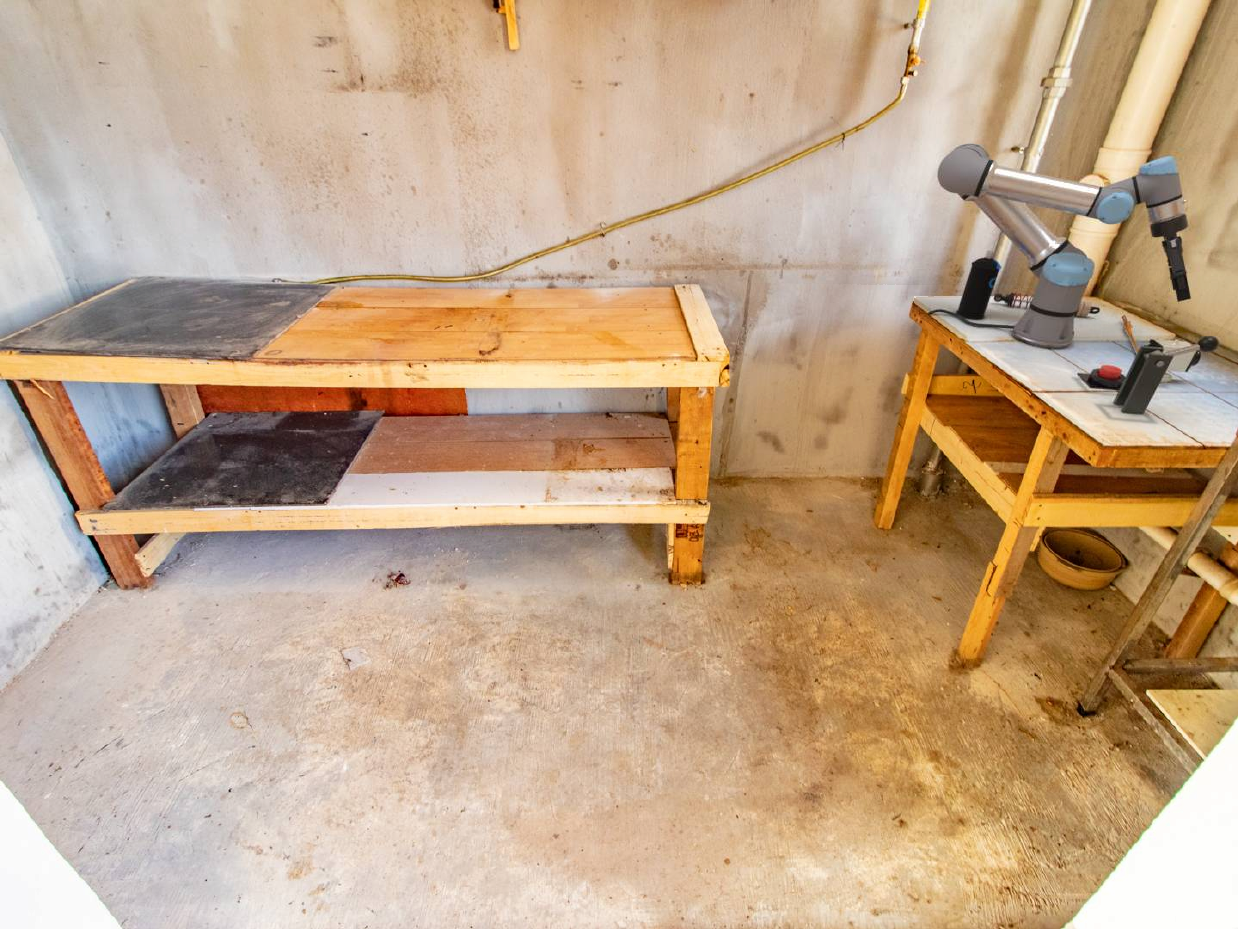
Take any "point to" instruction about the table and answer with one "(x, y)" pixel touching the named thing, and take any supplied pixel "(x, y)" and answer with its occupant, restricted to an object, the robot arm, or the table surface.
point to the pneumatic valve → (1179, 361)
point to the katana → (1129, 332)
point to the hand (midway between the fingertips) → (1181, 294)
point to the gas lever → (1192, 347)
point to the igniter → (1110, 372)
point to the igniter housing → (1101, 380)
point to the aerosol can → (979, 287)
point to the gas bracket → (1142, 380)
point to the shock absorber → (1081, 311)
